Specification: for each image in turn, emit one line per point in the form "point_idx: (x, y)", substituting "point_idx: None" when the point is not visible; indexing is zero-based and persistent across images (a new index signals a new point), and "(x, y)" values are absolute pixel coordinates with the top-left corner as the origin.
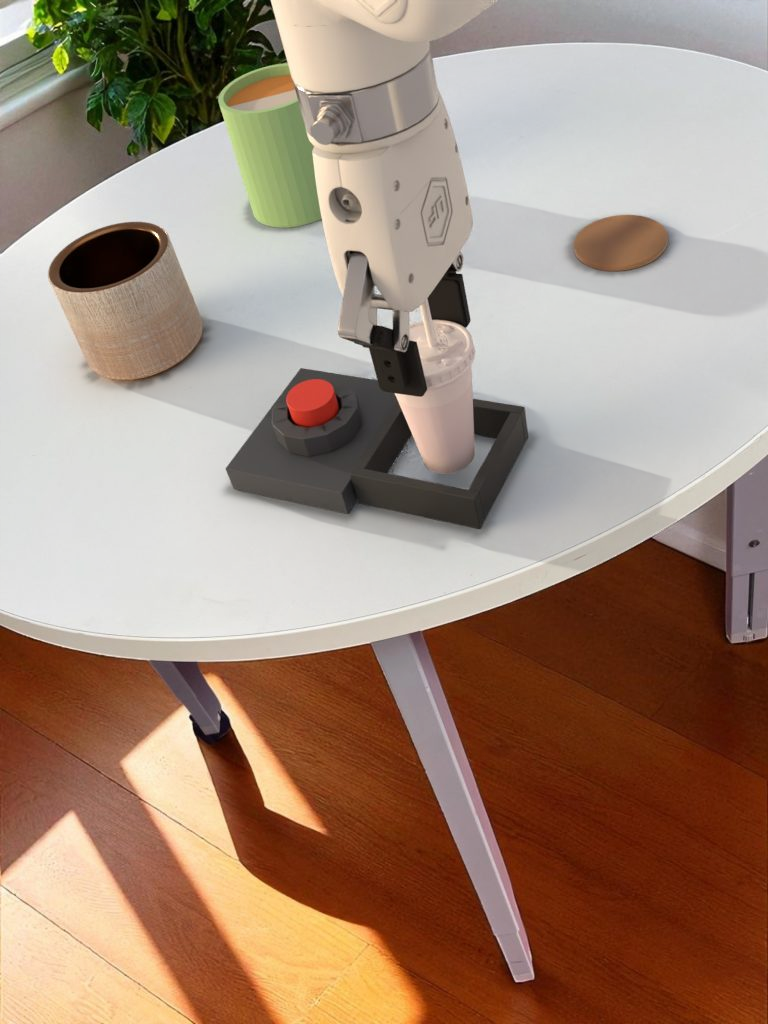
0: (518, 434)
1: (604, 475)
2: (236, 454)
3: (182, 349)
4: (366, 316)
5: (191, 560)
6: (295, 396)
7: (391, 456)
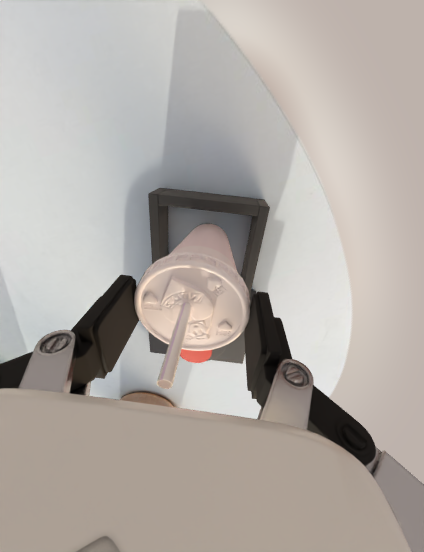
0: (173, 193)
1: (188, 98)
2: (230, 361)
3: (151, 399)
4: (411, 536)
5: (295, 352)
6: (198, 358)
7: None
